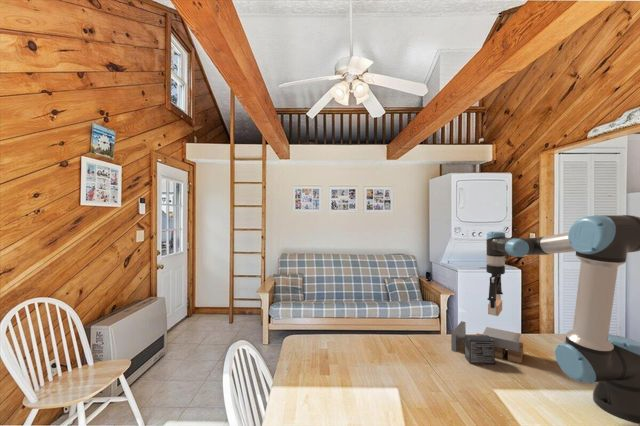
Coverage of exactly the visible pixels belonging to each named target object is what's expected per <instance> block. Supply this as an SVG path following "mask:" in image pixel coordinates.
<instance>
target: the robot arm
mask: <svg viewBox="0 0 640 426" xmlns="http://www.w3.org/2000/svg"><path fill="white" fill-rule="evenodd" d="M485 241H486V260H485V261H486V268H485V269H486V270H485V271H486V272H487V273H488V274H490V277H489V285H488V287H489V288H488V298H487V297H486V298H487V301H489V303H488V304H489V314H488V315H490V314H491V316H495V315H496V299H497V300H502V295H503V294H504V292H503V290H502V289H503V288H502V275H505V273H506V266H505V264H506V261H507V258H506V255H507V256H511V257H514V258H515V257H516V258H522V257H525V256H540V255H541V256H548V255H552V254H561V253H562V254H563V253H573V252H575V256H576V257H577V258H578V260H580V266H579V267H580V268H579V274H578V275H579V276H578V284H577V290H576V291H577V292H576V299H575V309H574V315H573V316H574V317H573V326H572V329H571V330H569V331H567V332H566V333H565V342H561V343H560V344H557V345H556V347H555V349H554V354H555V355H554V356H555V359H556V362H557V364H558V365H559V367H560V369H561V371H562V372H563V373H564V374H565V375H566V376H567V377H569V378H570V379H571V380H573V381H575V382H576V383H577V382H578V383H583V384H586V383H588V384H593V383H596V385H595V386H594V389H593V391H592V400H593V402H594V404H596V406H598V407H599V408H600V409H602V410H603V411H605V412H607V413H608V414H611V415H614V416H616V417H618V418H621V419H624V420H627V421H629V422H635V423H638V424H639V423H640V341H636V340H633V339H631V338H627V337H624V336H620V335H616V334H610V328H611V327H610V326H611V322H612V321H611V320H612V312H613V305H614V298H615V291H616V284H617V277H618V268H619V266H621V265H624V264H625V263H626V262H627V256H628V253H637V252H640V217H639V216H635V215H629V214H627V215H626V214H625V215H624V214H623V215H621V214H620V215H618V214H617V215H615V214H614V215H612V214H611V215H608V214H607V215H606V214H605V215H604V214H603V215H601V214H600V215H598V214H595V215H587V216H583V217H581V218H579V219H577V220H576V221H574V222H573V224H571V226H570V227H569V230H568V232H564V233H558V234H552V235H551V234H550V235H546V236H545V235H544V236H540V237H506V232H504V231H488V232H487V233H486V240H485Z"/></svg>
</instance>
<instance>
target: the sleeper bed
mask: <svg viewBox="0 0 640 426" xmlns="http://www.w3.org/2000/svg"><path fill="white" fill-rule="evenodd" d="M482 334H483V333H476V334H475V335H482ZM506 350H507V361H509V362H512V363H513V362H514V363H519V364H522V361H523V358H524V343H523V342H521V343H520V347H519V351H518V352H517V351H513V350H509V349H504V348H500V347H495V346H494V351H495V358H496V359H497V358H498V359H501V360H504V359H503V358H504V356H505V353H506Z"/></svg>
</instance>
